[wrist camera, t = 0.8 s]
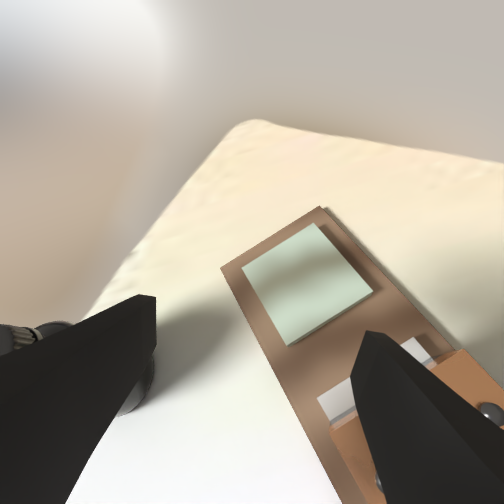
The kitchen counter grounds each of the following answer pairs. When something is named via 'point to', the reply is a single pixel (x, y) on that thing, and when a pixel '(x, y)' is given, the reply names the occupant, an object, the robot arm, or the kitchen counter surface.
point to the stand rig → (322, 323)
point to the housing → (453, 375)
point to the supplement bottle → (13, 337)
